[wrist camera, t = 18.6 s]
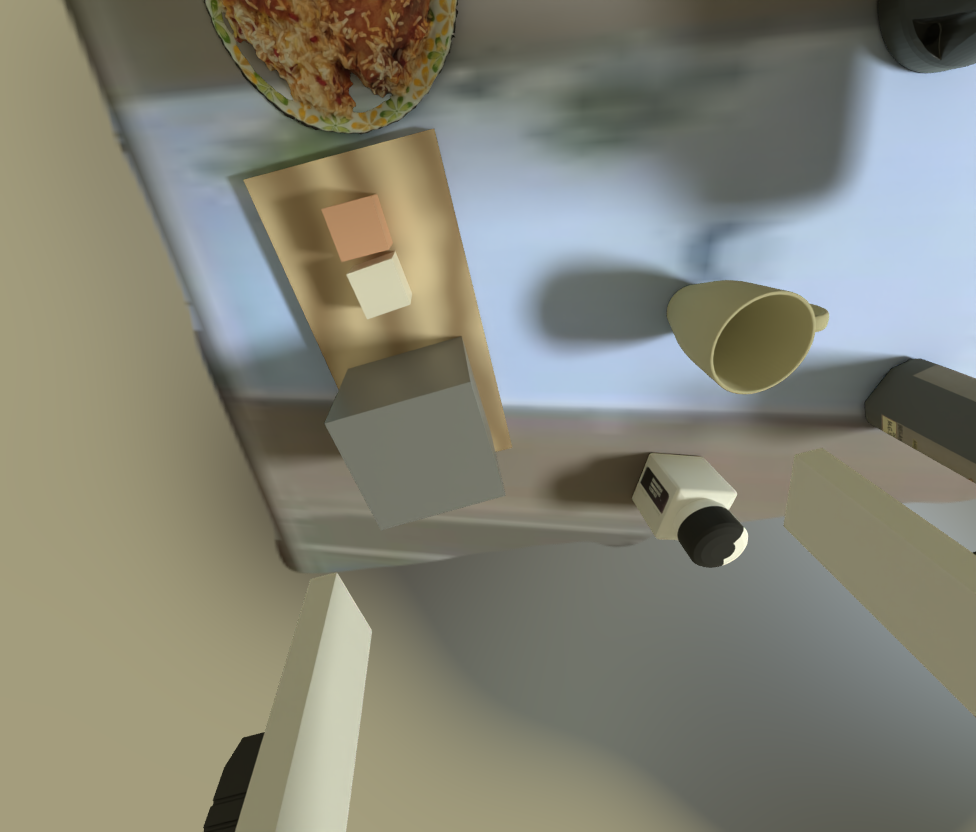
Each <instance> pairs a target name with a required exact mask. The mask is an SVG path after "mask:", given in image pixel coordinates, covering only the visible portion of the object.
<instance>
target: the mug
mask: <svg viewBox="0 0 976 832" xmlns="http://www.w3.org/2000/svg"><path fill="white" fill-rule="evenodd" d="M667 319H668V322H669V324H670V326H671V328H672V331H673V333H674V335H675V338H676V340H677V342H678V344H679V345H680V347H681V349H682V350H683V351H684V353H685V354H686V355H687V356H688V357H689V358H690V359H691V360H692V361H693V362H694V363H695V364H696V365H697V366H698V367H699V368H700V369H702V370H703V371H704V372H705V373H706V374H707V375H708V376H709V377H711V378H712V379H713V380H714V381H715V382H716V383H717V384H718V385H720V386H721V387H722V388H724V389H725V390H727V391H729V392H732V393H737V394H753V393H757V392H761V391H764V390H767V389H769V388H771V387H773V386H775V385H777V384H778V383H780V382H781V381H783V380H784V379H786V378H787V377H788V376H789V375H790V374H791V373H792V372H793V371H794V370H795V369H796V368H797V367H798V366H799V365H800V364H801V362H802V361H803V360H804V358H805V357H806V355H807V353H808V351H809V349H810V347H811V345H812V342H813V339H814V335H815V332H818V331H821V330H823V329H825V327H826V326H827V324H828V320H829V313H828V311H827V310H826V309H824V308H822V307H820V306H817V305H813V304H809V303H808V301H807V300H805V299H804V298H803V297H802V296H800V295H798V294H796V293H793V292H789V291H785V290H780V289H776V288H771V287H767V286H762V285H758V284H753V283H748V282H743V281H733V280H723V281H713V282H707V283H700V284H694V285H688V286H686V287H683V288H682V289H680V290H679V291H677V292H676V293H675V294H674V295H673V297H672V298H671V300H670V302H669V304H668V307H667Z"/></svg>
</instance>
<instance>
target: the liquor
mask: <svg viewBox="0 0 976 832" xmlns="http://www.w3.org/2000/svg"><path fill="white" fill-rule="evenodd" d="M865 415H866V419H867V421H868V423H870V424H872V425H873V426H875V427H877V428H879V429H880V430H882V431H884V432H886V433H887V434H889V435H891V436H893V437H895V438H896V439H898V440H900V441H902V442H903V443H905V444H907V445H909V446H910V447H912V448H914V449H916V450H917V451H919V452H921V453H923V454H925V455H926V456H928V457H930V458H932V459H933V460H935V461H937V462H939V463H940V464H942V465H944V466H946V467H947V468H949V469H951V470H953V471H955V472H956V473H958V474H960V475H962V476H963V477H965V478H967V479H969V480H970V481H972V482H974V483H976V378H973V377H970V376H968V375H965V374H962V373H960V372H957V371H954V370H952V369H949V368H946V367H943V366H940V365H937V364H934V363H932V362H929V361H926V360H923V359H911V360H909V361H907V362H905V363H903V364H900V365H898V366H896V367H894V368H892V369H891V370H890V371H889V372H888V373H887V375H886V376H885V377H884V378H883V380H882V381H881V382H880V384H879V385H878V386H877V387H876V389H875V390H874V391H873V392H872V394H871V395H870V396H869V398H868V399H867V400H866V401H865Z"/></svg>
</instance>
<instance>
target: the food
mask: <svg viewBox="0 0 976 832" xmlns="http://www.w3.org/2000/svg"><path fill="white" fill-rule="evenodd" d="M204 3H205V5H206V8H207V10H208V13H209V15H210V17H211V21H212V24H213V26H214V28H215V30H216V32H217V34H218V36H219V37H220V39H221V41H222V43H223V45H224V47H225V48H226V50H227V51H228V53H229V54H230V56H231V58H232V59H233V60H234V61H235V63H236V65H237V66H238V68H239V69H240V70H241V72H242V74H243V76H244V77H245V78H246V79H247V80H248V81H249V82H250V83H251V84H252V85H253V86H254V87H255V88H256V89H257V90H258V91H259V92H260V93H261V94H263V95H264V96H265V98H266V99H267V100H268V101H269V102H271V103H272V104H273V105H274V106H275V107H276V108H277V109H278V110H280V111H281V112H283V114H284V115H286V116H287V117H290V118H292V119H295V118H296V120H297V121H298V122H301V123H302V124H304V125H305V126H307V127H312V128H313V129H315V130H319V129H321V130H324V131H330V132H338V133H349V134H352V133H355V132H357V133H359V134H364V133H368V132H370V131H372V130H376V129H380V128H382V127H384V126H387V125H389V124H391V123H394V122H397V121H399V120H400V119H401V118H403V117H404V116H405V115H406V114H407V113H408V112H410V111H411V110H412V109H414V108H416V106H417V104H418V103H419V102H420V101H421V100H422V97H423V96H424V95H426V94H427V93H428V92H429V90H430V88H431V85H432V83H433V81H434V79H435V78H436V76H437V75H438V74H439V73H440V72H441V70H442V68H443V65H444V62H445V56H446V55H447V54H448V53H450V48H451V40H452V38H453V37H455V36H454V35H452V33H455V23H456V17H457V14H458V11H457V9H456V8H455V7H456V6H457V5H458V0H204ZM222 11H223V12H225V13H226V15H225V18H226V19H228V21H229V23H230V26H231V28H232V29H233V30H234V33H233V34H231V33H230V32H229V30H228V29H227V27H226V25H225V24H224V22H223V18H222ZM242 41H246V42H247V43H251V44H252V45H253V47H254V48H255V51H256V55H257V56H258V58H259V59H261V60H262V61H264V62H265V63H266V65H267V67H268V69H269V70H270V71H273V70H277V71H278V72H279V76H280V77H281V78H282V79H285V80H286V81H287V83H288V85H289V87H290V89H291V95H292V97H293V100H288V99H286V98H285V97H284V96H283V95H281V94H280V93H278V92H276V91H275V90H274V88H273V87H272V86H270V85H269V84H267V83H266V82H265V81H264V80H263V79H262V78H261V77H260V76H259V75H258V74H257V73H256V72H255V71H254V70H253V68H252V67H251V66H250V64H249V63H248V61H247V59H246V58H245V57H244V56H243V55H242V54H241V52H240V50H239V49H238V47H237V45H236V43H237V42H239V43H241V42H242ZM350 73H354V74H355V75H356V76H357V77H358V78H359V79H360V80H361V81H362V83H363V85H364V86H365V87H369V88H370V89H371V90H372V92H373V93H374V95H376V94H377V95H379V96H380V97H382V98H383V97H384V96H385V95H386V94H388V93H392V95H391V96H390V99H389V100H387V101H384V102H383V103H382V104H381V105H379V106H377V107H375V108H373V109H371V110H369V111H366V112H363V113H356V112H353V108H354V107H355V106H356V103H355V101H354V100H353V99H352V98H351V96H350V95H349V88H350V87H351V86H352V85H353V83H352V82H351V80H350ZM310 107H311V108H310Z"/></svg>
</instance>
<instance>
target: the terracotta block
mask: <svg viewBox="0 0 976 832" xmlns="http://www.w3.org/2000/svg"><path fill="white" fill-rule="evenodd" d="M321 210H322V213H323V215H324V218H325V220H326V223H327V226H328V228H329V231H330V233H331V236H332V239H333V241H334V244H335V246H336V249H337V252H338V254H339V257H340V259H341V262H344V261H348V260H352V259H355V258H359V257H363V256H367V255H370V254H374V253H378V252H382V251H386V250H389V249H390V247H391V245H392V244H393V242H392V239H391V236H390V232H389V229H388V226H387V223H386V220H385V217H384V214H383V211H382V208H381V204H380V201H379V198H378V195H377V194H375V195H371V196H367V197H363V198H360V199H356V200H352V201H348V202H345V203H341V204H337V205H333V206H330V207H327V208H324V209H321Z"/></svg>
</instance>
